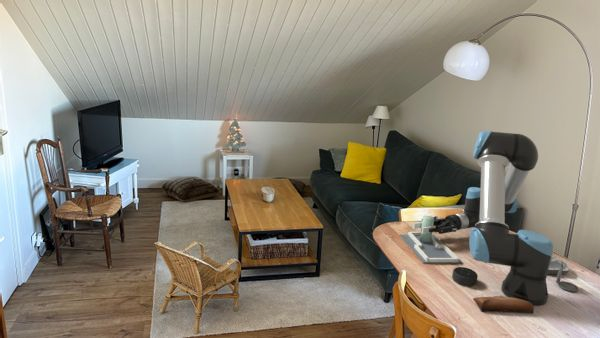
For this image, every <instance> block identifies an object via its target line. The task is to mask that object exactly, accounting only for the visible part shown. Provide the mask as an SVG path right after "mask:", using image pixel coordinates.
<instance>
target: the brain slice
mask: <svg viewBox="0 0 600 338" xmlns="http://www.w3.org/2000/svg"><path fill="white" fill-rule="evenodd" d="M562 261H563V260H561V259H558V258H557V257H556V256H553V255H552V256H551V260H550V264H549V269H548V273H547V275H555V276H557V275H558V271H559V268H560V266H561V262H562ZM569 269H570V268H569V265H568V264H567V263H566V262H564V261H563V271H562V275H561V276H563V275H565V274H566V273H568V272H569Z"/></svg>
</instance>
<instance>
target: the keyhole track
mask: <svg viewBox="0 0 600 338" xmlns="http://www.w3.org/2000/svg"><path fill="white" fill-rule="evenodd" d="M420 233H421V231H408V233H407V234H405V233H404V234H402V233H400V234H399V237H400V236H401V237H402V238H403V239H402V238H401V237H400V238H401V239H402V240H403V241H404V243H405V242H406V243H407V244H406V243H405V244H406V245H407V246H408V247H409V249H412V250H411V252H413V253H414V255H415V256H416V255H417V256H418V257H417V258H418V259H419V261H421V263H422V264H429V265H430V264H433V265H434V264H435V265H437V264H443V265H444V264H463V261H462V260H461V259H460V257H458V256H457V254H455V253H454V252H453V251H452V250H451V249H450V248H449V247H448V246H447V245H446V244H445V243H444V242H443V241H441V240H440V239H439V238H438V237H437V236H436V235H435V234H432V237H431V242H429V243H426V242H422V241H420Z"/></svg>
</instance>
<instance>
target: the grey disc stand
mask: <svg viewBox="0 0 600 338" xmlns="http://www.w3.org/2000/svg"><path fill="white" fill-rule="evenodd" d="M561 261H562V262H561V266H560V268H559V271H558V275H556V281H555V283H556V284H557V285H558V287H559V288H561V289H562V290H565V291H568V292H574V293H575V292H578V291H579V287H578V285H576V284H574V283H571V282H569V281H563V280H562V281H561V278H562V276H563V275H562V271H563V262H564V261H563V260H561Z"/></svg>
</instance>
